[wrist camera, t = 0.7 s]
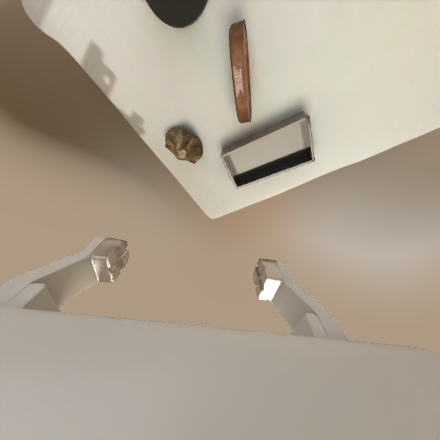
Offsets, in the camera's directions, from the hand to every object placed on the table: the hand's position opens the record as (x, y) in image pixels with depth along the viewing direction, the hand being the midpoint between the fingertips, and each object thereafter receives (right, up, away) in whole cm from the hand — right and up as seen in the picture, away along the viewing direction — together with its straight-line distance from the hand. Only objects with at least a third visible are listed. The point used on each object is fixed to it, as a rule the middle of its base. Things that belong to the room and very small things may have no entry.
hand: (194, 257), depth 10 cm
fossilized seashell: (-8, +24, +36) cm, 44 cm away
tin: (+6, +33, +25) cm, 42 cm away
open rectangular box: (+14, +21, +35) cm, 43 cm away
